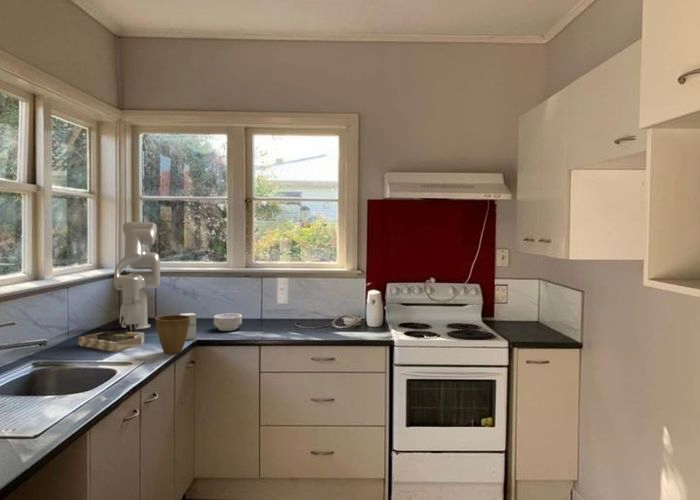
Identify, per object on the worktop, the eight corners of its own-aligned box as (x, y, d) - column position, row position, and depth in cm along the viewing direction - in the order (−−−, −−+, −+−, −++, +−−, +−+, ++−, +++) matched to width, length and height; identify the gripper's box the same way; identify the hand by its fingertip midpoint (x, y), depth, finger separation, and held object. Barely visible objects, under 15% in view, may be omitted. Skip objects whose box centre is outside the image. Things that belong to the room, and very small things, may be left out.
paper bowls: (228, 333, 273) (228, 318, 272) (207, 330, 280) (207, 316, 280) (247, 328, 286) (247, 314, 286) (227, 325, 293) (227, 312, 293)
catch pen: (78, 345, 243) (78, 337, 243) (105, 339, 256) (104, 332, 256) (115, 351, 231) (115, 343, 231) (141, 345, 243) (141, 337, 243)
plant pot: (165, 358, 220) (165, 321, 219) (149, 352, 230) (149, 317, 229) (196, 352, 230) (196, 317, 230) (180, 347, 241) (180, 313, 240)
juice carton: (147, 342, 251) (146, 330, 251) (137, 347, 241) (136, 334, 241) (108, 342, 253) (107, 330, 253) (96, 347, 243) (96, 334, 243)
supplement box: (181, 340, 254) (181, 315, 254) (179, 337, 261) (178, 313, 260) (196, 339, 258) (196, 314, 257) (193, 336, 264) (193, 312, 264)
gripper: (138, 299, 262) (138, 334, 262) (112, 302, 248) (113, 340, 249) (148, 300, 258) (148, 336, 259) (123, 303, 245) (123, 341, 246)
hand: (131, 337), depth 254 cm, fingers closed
